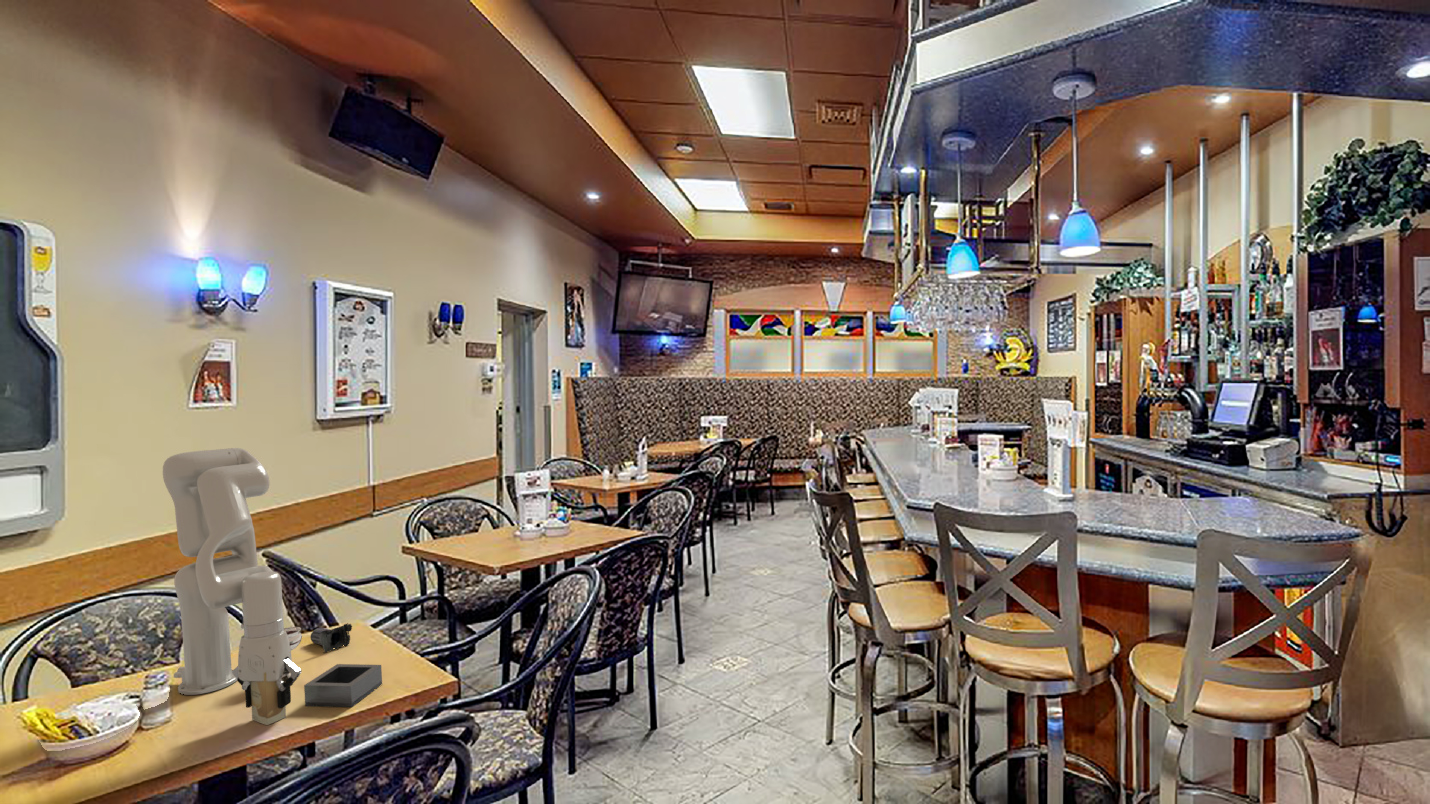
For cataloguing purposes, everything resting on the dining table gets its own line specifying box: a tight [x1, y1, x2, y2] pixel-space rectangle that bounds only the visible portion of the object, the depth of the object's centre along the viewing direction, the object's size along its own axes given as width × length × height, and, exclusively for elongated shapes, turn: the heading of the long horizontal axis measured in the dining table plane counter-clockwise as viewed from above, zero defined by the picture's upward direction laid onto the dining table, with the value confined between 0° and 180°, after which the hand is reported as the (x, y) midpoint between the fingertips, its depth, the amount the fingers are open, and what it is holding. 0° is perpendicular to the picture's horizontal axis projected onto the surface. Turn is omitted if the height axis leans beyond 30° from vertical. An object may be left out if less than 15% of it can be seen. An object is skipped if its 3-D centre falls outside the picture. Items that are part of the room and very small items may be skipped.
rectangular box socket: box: [303, 663, 383, 708], centre depth 166 cm, size 12×12×5 cm
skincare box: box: [251, 672, 287, 726], centre depth 155 cm, size 6×4×12 cm
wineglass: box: [284, 626, 303, 678], centre depth 177 cm, size 7×7×12 cm
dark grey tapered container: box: [310, 622, 353, 653], centre depth 198 cm, size 9×8×12 cm
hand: (268, 704), depth 155 cm, fingers closed on skincare box, 7 cm apart
